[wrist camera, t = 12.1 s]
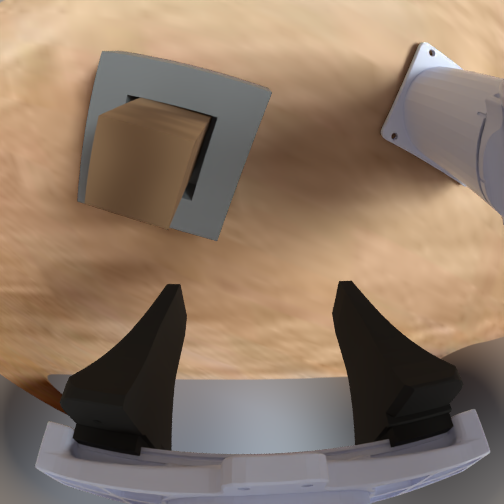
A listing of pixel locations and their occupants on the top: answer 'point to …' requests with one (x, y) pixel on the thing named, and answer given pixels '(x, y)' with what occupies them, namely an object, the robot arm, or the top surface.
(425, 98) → the robot arm
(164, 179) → the walnut peg
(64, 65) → the top surface
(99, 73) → the socket block
